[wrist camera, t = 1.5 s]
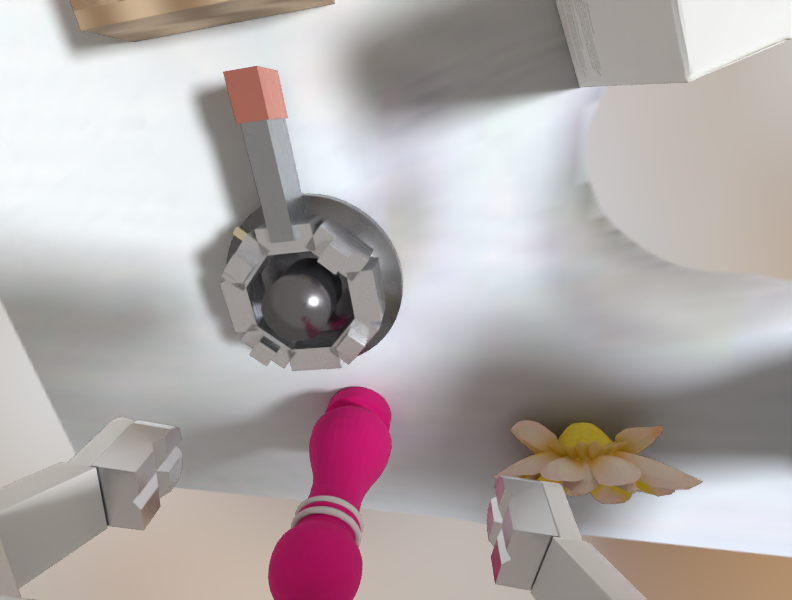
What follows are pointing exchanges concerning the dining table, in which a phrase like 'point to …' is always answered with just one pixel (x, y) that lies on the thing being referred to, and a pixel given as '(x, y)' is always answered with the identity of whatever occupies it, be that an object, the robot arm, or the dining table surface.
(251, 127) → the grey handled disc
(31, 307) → the dining table surface
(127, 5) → the square wooden frame
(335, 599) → the pepper mill
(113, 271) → the dining table surface
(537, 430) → the decorative flower
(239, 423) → the dining table surface
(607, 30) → the skincare box
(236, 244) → the domed metal lid
